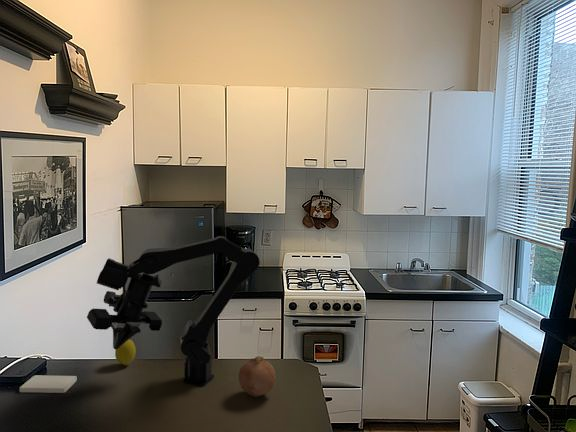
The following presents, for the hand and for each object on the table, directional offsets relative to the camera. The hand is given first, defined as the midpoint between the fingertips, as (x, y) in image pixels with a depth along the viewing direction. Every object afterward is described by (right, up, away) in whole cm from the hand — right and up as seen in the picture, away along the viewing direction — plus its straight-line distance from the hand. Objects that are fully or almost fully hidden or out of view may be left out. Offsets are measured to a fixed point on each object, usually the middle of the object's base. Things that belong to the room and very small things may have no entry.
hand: (115, 348), depth 119 cm
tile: (-10, -9, -2) cm, 14 cm away
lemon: (-1, -8, +11) cm, 14 cm away
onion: (+38, -11, -4) cm, 39 cm away
